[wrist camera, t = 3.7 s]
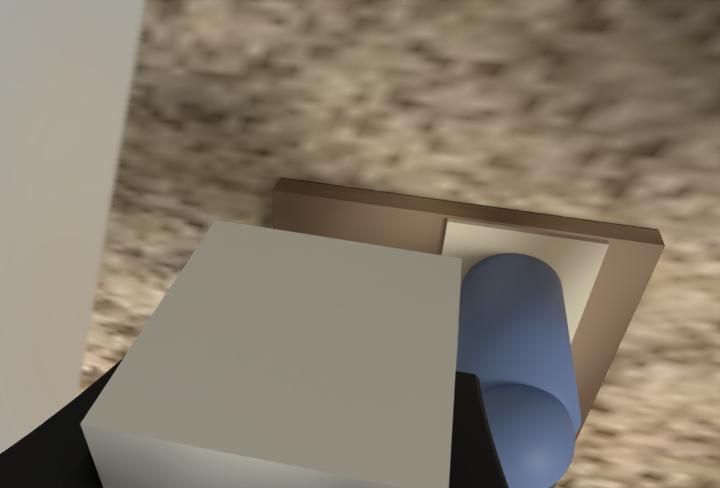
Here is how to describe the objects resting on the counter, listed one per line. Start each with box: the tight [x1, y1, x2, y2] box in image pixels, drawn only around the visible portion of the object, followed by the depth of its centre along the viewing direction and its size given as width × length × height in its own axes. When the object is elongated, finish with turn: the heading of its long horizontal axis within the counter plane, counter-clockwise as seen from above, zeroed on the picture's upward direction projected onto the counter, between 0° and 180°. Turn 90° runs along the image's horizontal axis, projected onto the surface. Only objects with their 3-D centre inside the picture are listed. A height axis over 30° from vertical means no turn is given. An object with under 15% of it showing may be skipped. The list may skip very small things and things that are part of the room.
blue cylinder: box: [456, 253, 581, 488], centre depth 17 cm, size 3×3×7 cm
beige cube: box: [80, 220, 462, 488], centre depth 11 cm, size 5×5×5 cm
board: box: [272, 178, 665, 488], centre depth 24 cm, size 12×20×1 cm, turn 177°
